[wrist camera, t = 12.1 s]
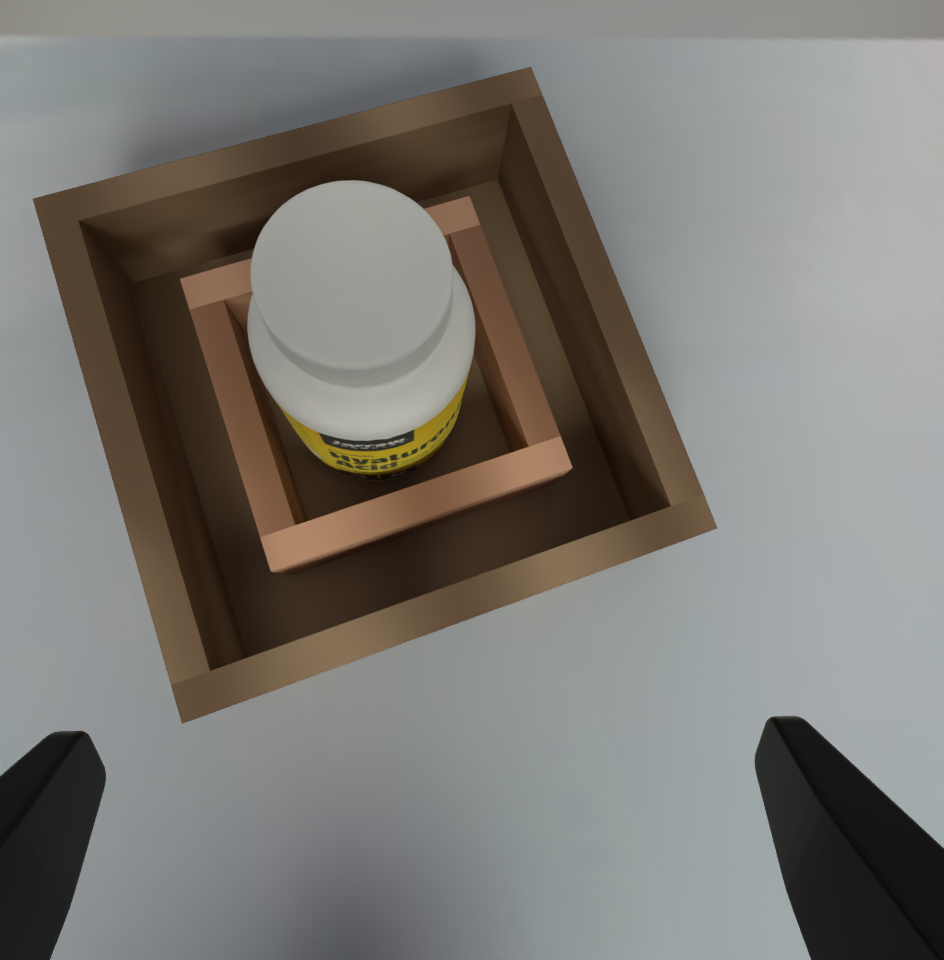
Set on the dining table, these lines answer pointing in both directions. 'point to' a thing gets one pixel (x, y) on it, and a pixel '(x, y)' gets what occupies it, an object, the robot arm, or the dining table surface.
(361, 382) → the supplement bottle
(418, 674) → the dining table surface
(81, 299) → the box
